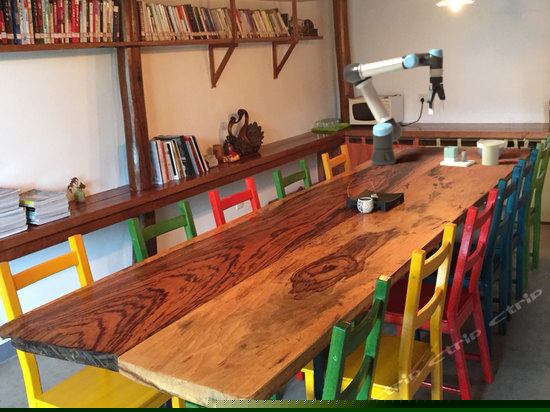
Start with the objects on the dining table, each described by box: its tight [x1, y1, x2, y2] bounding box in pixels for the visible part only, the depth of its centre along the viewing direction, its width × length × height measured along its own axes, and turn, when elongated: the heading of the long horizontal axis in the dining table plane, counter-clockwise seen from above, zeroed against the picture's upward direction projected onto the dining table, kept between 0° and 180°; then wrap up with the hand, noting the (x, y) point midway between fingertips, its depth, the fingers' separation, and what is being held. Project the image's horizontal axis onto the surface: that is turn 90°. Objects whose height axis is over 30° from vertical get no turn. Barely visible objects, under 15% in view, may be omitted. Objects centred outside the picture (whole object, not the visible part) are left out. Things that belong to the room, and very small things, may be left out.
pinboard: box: [439, 150, 476, 168], centre depth 369 cm, size 16×12×8 cm
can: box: [481, 143, 500, 167], centre depth 362 cm, size 9×9×12 cm
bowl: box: [476, 139, 506, 157], centre depth 380 cm, size 16×16×10 cm
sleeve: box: [443, 145, 459, 162], centre depth 371 cm, size 6×6×8 cm
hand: (436, 112), depth 377 cm, fingers open, 13 cm apart
